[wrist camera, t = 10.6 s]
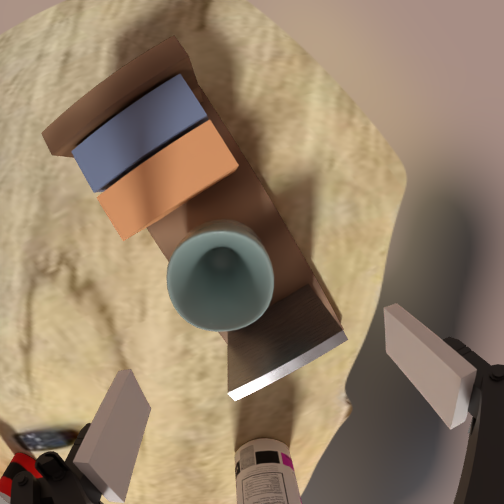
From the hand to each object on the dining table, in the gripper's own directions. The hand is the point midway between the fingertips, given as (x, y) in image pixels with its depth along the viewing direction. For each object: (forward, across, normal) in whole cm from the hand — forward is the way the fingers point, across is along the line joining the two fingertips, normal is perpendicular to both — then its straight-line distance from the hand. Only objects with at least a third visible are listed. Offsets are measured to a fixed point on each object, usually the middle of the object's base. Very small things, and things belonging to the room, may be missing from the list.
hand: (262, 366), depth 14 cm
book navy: (+18, -5, +14) cm, 23 cm away
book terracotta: (+18, -3, +10) cm, 21 cm away
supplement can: (+20, -5, -29) cm, 35 cm away
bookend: (+18, +2, -8) cm, 20 cm away
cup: (+18, -2, +2) cm, 18 cm away
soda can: (+19, -54, -31) cm, 66 cm away
